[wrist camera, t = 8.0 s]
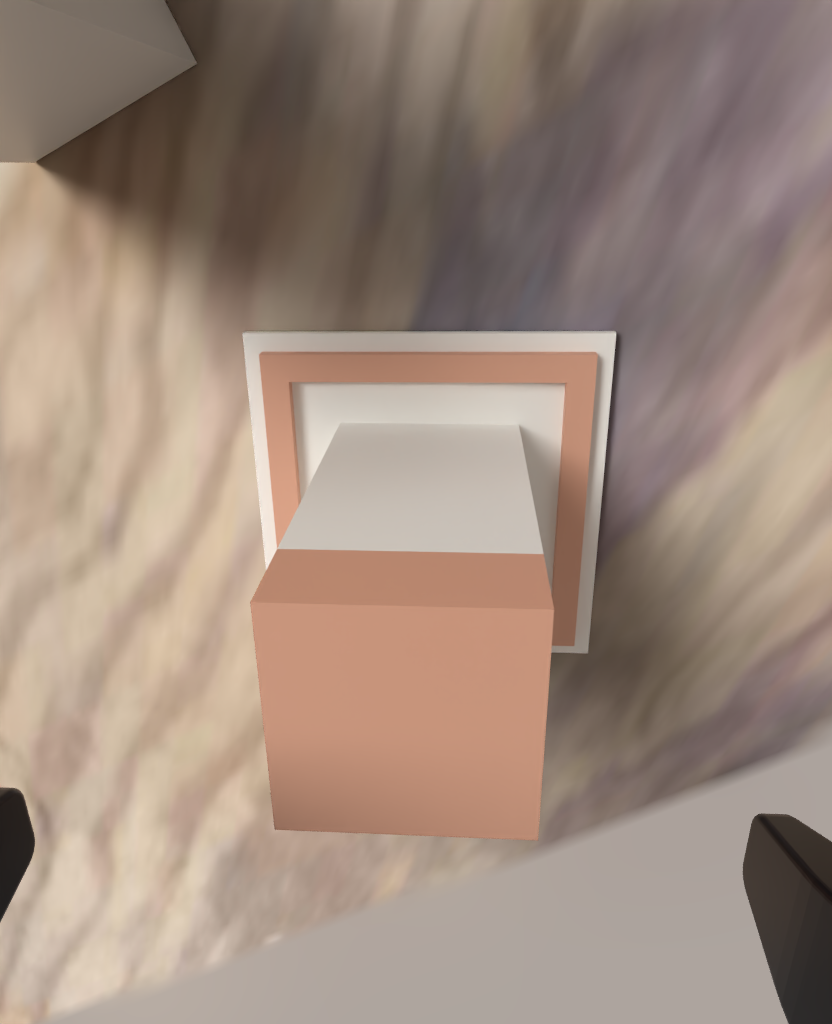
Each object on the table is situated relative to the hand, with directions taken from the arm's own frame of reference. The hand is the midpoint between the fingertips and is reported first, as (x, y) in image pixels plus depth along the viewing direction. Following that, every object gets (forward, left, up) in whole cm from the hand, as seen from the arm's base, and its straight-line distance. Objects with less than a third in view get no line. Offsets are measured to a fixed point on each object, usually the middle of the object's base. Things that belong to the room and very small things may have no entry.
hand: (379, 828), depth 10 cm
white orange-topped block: (0, 0, -10) cm, 10 cm away
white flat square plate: (0, 0, -10) cm, 10 cm away
